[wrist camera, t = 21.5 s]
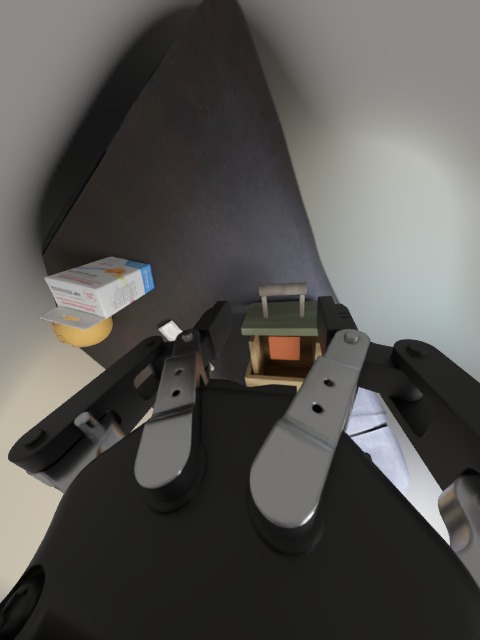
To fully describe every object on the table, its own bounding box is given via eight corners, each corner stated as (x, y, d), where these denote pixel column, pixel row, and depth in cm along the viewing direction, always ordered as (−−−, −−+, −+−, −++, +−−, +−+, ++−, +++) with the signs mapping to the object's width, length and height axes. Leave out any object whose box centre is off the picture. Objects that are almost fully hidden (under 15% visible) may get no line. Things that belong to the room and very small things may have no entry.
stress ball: (100, 286, 40) (51, 309, 32) (131, 323, 44) (94, 352, 36) (76, 299, 44) (26, 323, 36) (105, 332, 48) (67, 360, 40)
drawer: (246, 275, 30) (234, 296, 24) (324, 268, 27) (333, 291, 21) (259, 363, 40) (253, 395, 34) (317, 366, 37) (322, 402, 30)
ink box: (151, 263, 34) (73, 299, 22) (155, 288, 37) (88, 332, 25) (109, 255, 35) (14, 285, 23) (116, 280, 38) (35, 319, 26)
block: (299, 337, 27) (299, 360, 30) (299, 320, 31) (299, 342, 33) (268, 336, 29) (270, 359, 31) (271, 320, 32) (272, 341, 35)
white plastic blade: (200, 372, 48) (198, 375, 47) (158, 328, 43) (155, 331, 42) (214, 367, 45) (213, 371, 44) (172, 319, 40) (169, 322, 39)
